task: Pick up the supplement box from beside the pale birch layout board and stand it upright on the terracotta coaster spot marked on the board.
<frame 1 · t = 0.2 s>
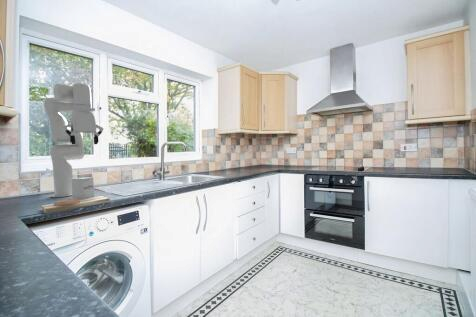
hand: (85, 144, 115), 30 cm above the worktop, fingers open, 9 cm apart
layout board: (77, 205, 115), on the worktop
supplement box: (83, 201, 127), on the worktop
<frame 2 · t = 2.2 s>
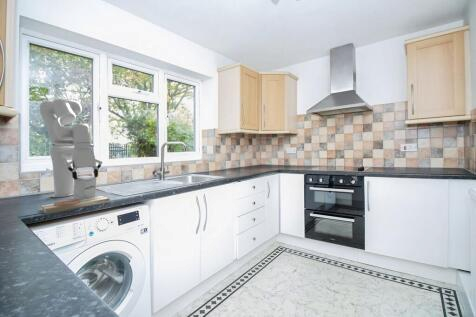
hand: (86, 178, 125), 12 cm above the worktop, fingers open, 9 cm apart
supplement box: (84, 199, 127), on the worktop, touching gripper
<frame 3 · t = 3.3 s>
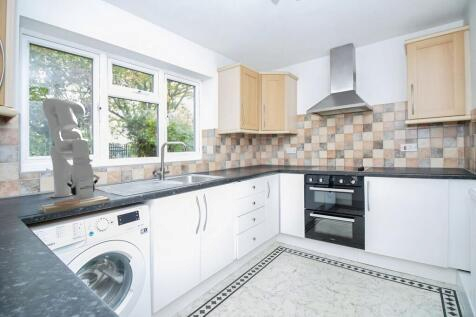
hand: (83, 193, 127), 4 cm above the worktop, fingers closed on supplement box, 8 cm apart
supplement box: (83, 201, 127), on the worktop, touching gripper
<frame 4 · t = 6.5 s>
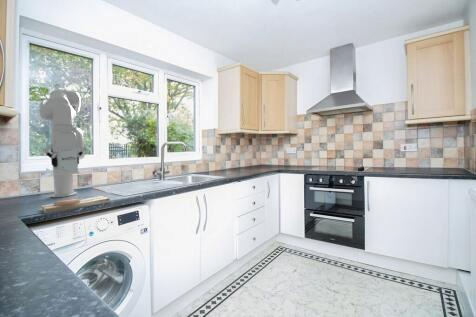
hand: (65, 165, 112), 20 cm above the worktop, fingers closed on supplement box, 8 cm apart
supplement box: (66, 174, 112), point 16 cm above the worktop, touching gripper
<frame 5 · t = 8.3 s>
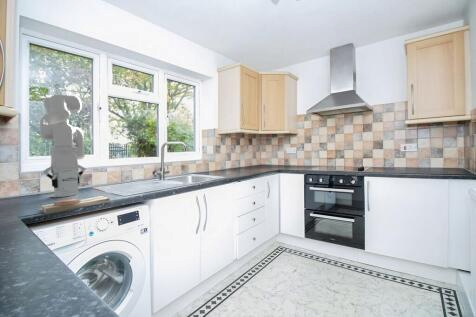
hand: (66, 186, 112), 10 cm above the worktop, fingers closed on supplement box, 8 cm apart
supplement box: (66, 194, 112), point 6 cm above the worktop, touching gripper
when the fingers open (8 cm above the worktop, at t = 9.4 s): supplement box drops 1 cm, resting on layout board.
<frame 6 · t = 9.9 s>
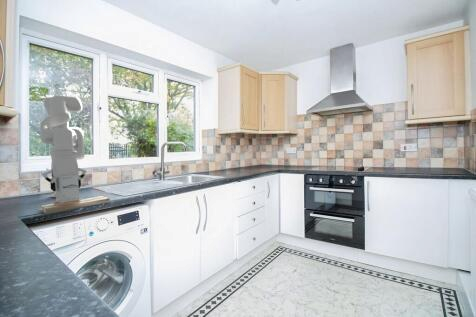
hand: (66, 189, 112), 9 cm above the worktop, fingers open, 9 cm apart
supplement box: (68, 201, 112), point 3 cm above the worktop, touching layout board
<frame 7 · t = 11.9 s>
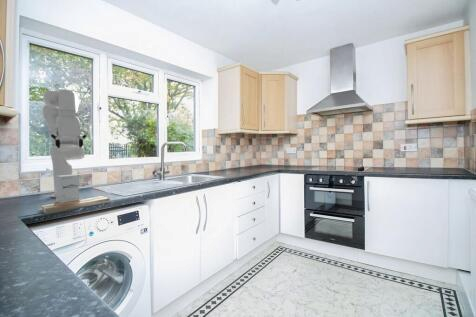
hand: (69, 147, 122), 29 cm above the worktop, fingers open, 9 cm apart
nothing on the worktop moved.
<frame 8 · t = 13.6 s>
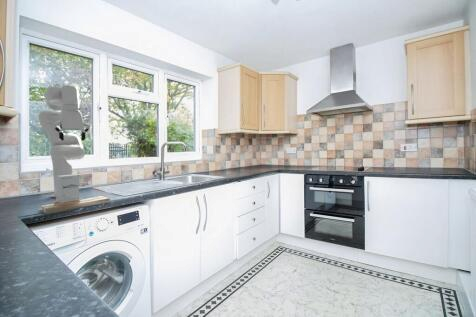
hand: (72, 140, 128), 33 cm above the worktop, fingers open, 9 cm apart
nothing on the worktop moved.
at the end: supplement box 0.4 cm from the target spot on the layout board, point 2.8 cm above the layout board's base; supplement box tilted 0°; the gripper is holding nothing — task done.
